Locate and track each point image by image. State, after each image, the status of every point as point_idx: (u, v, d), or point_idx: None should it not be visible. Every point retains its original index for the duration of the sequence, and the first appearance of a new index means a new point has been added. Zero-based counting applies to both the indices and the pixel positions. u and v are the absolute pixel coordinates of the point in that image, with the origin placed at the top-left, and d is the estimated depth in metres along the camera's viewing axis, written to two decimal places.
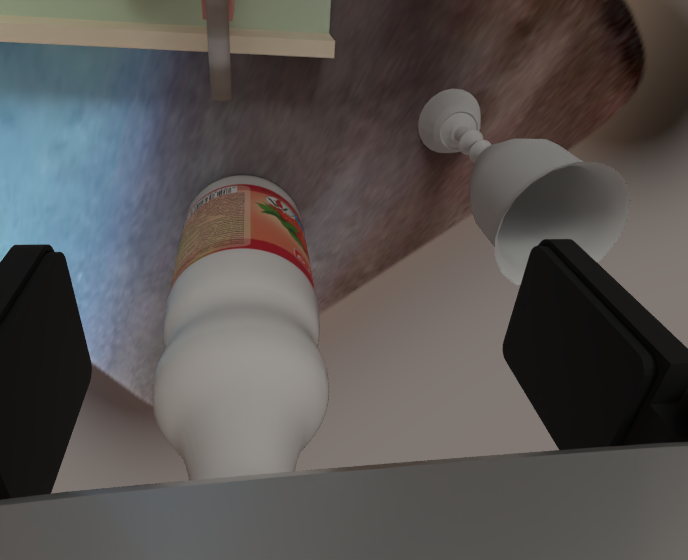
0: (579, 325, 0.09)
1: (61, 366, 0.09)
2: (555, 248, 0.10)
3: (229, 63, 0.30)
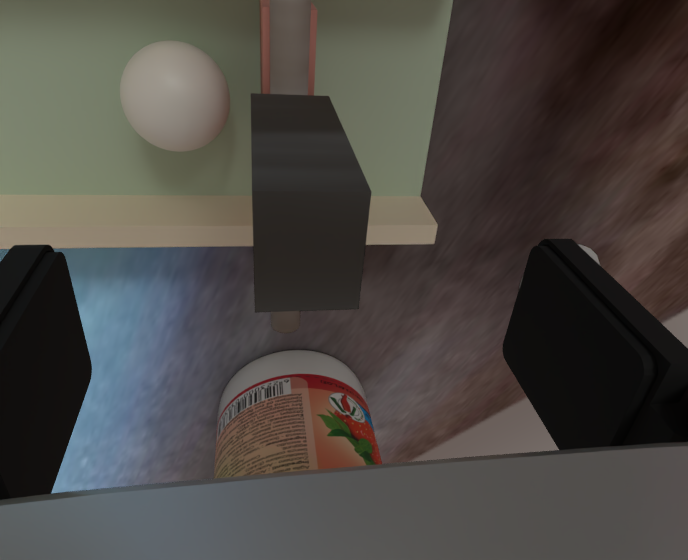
0: (579, 325, 0.09)
1: (61, 366, 0.09)
2: (555, 248, 0.10)
3: None
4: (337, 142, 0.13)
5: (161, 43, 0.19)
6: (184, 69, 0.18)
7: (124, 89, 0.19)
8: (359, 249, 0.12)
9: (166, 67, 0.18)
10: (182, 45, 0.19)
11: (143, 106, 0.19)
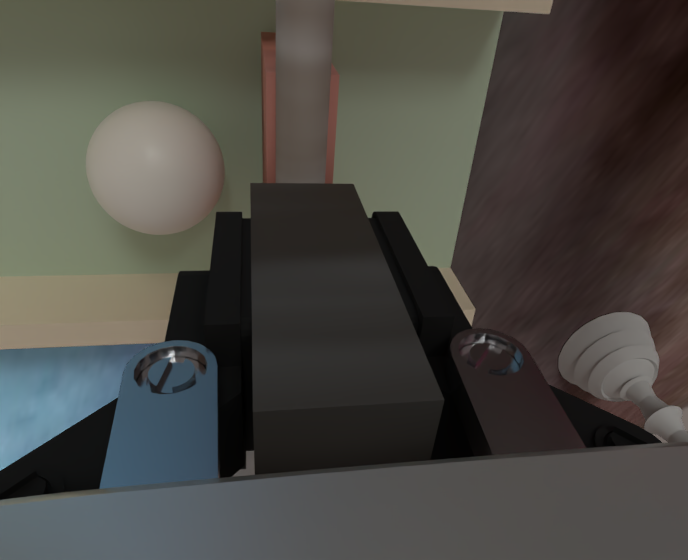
0: None
1: None
2: (377, 219, 0.11)
3: None
4: (376, 279, 0.09)
5: (137, 106, 0.15)
6: (165, 140, 0.15)
7: (90, 164, 0.15)
8: None
9: (142, 138, 0.14)
10: (164, 108, 0.15)
11: (113, 187, 0.15)
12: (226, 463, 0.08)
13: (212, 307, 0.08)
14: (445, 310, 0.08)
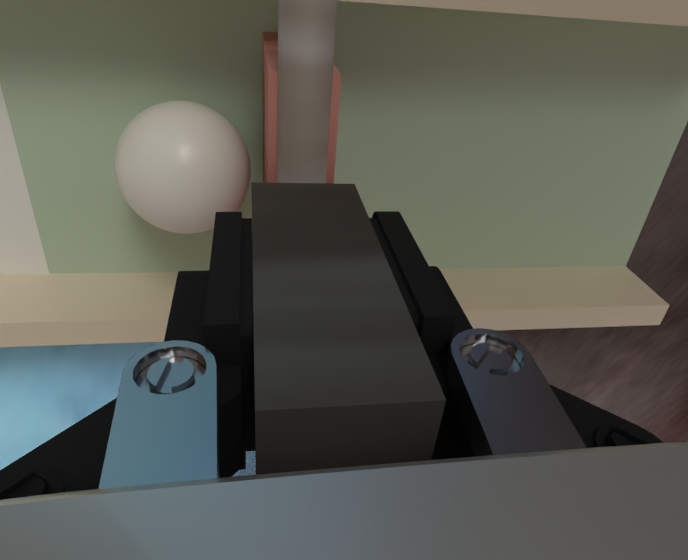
0: None
1: None
2: (378, 219, 0.11)
3: None
4: (377, 279, 0.09)
5: (193, 104, 0.15)
6: None
7: (248, 154, 0.16)
8: None
9: None
10: None
11: None
12: (225, 463, 0.08)
13: (211, 307, 0.08)
14: (447, 310, 0.08)
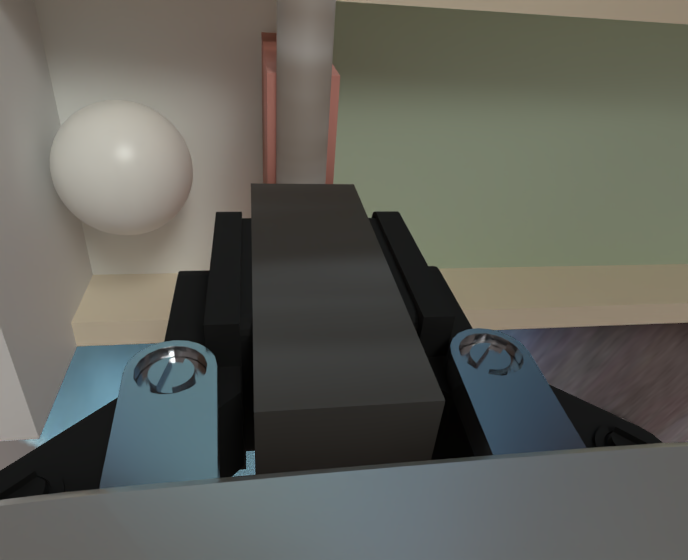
0: None
1: None
2: (378, 219, 0.11)
3: None
4: (376, 279, 0.09)
5: (121, 100, 0.15)
6: None
7: None
8: None
9: None
10: (96, 104, 0.15)
11: None
12: (226, 463, 0.08)
13: (212, 307, 0.08)
14: (446, 310, 0.08)
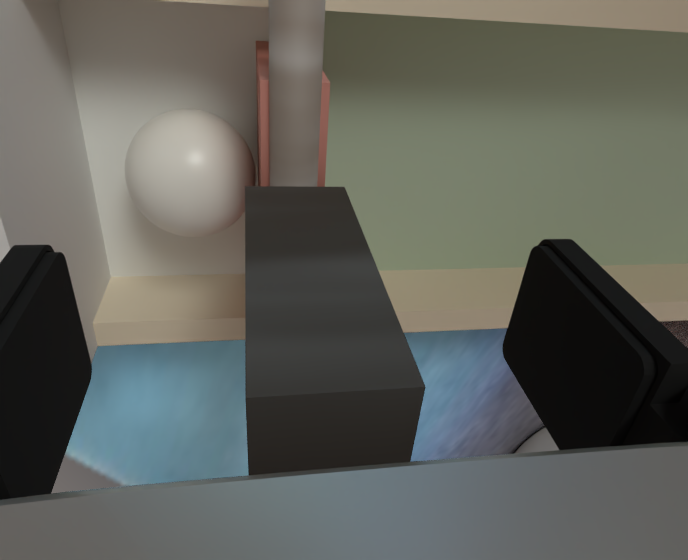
0: (579, 325, 0.09)
1: (61, 366, 0.09)
2: (555, 248, 0.10)
3: None
4: (363, 276, 0.10)
5: None
6: (138, 132, 0.16)
7: None
8: (403, 454, 0.08)
9: None
10: (173, 115, 0.16)
11: None
12: None
13: None
14: None
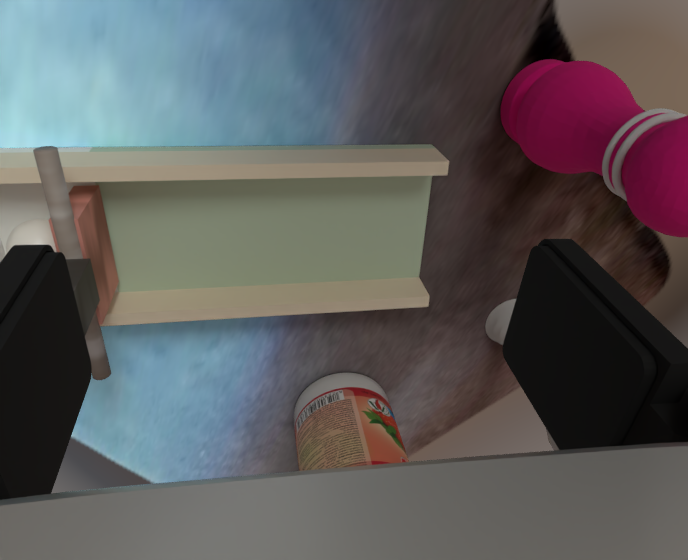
0: (579, 325, 0.09)
1: (61, 366, 0.09)
2: (555, 248, 0.10)
3: (103, 352, 0.36)
4: None
5: (34, 219, 0.35)
6: (13, 229, 0.35)
7: None
8: None
9: None
10: (25, 224, 0.35)
11: None
12: None
13: None
14: None
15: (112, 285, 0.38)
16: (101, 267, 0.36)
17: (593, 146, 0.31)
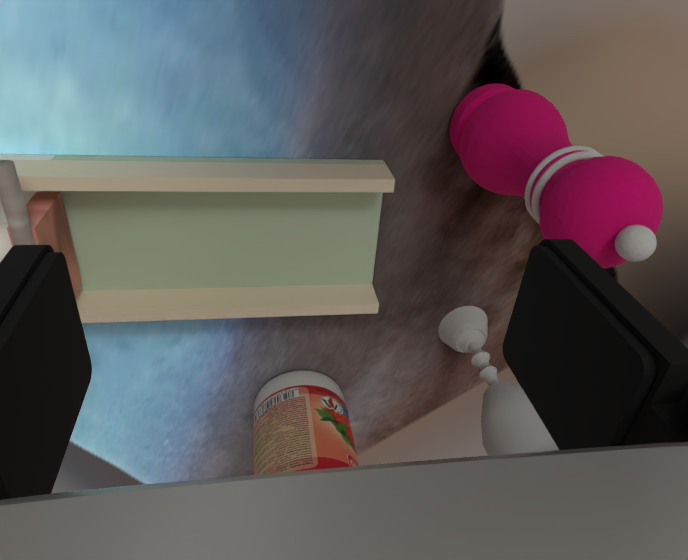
0: (579, 325, 0.09)
1: (61, 366, 0.09)
2: (555, 248, 0.10)
3: None
4: None
5: None
6: None
7: None
8: None
9: None
10: None
11: None
12: None
13: None
14: None
15: (73, 286, 0.40)
16: None
17: (520, 176, 0.33)
